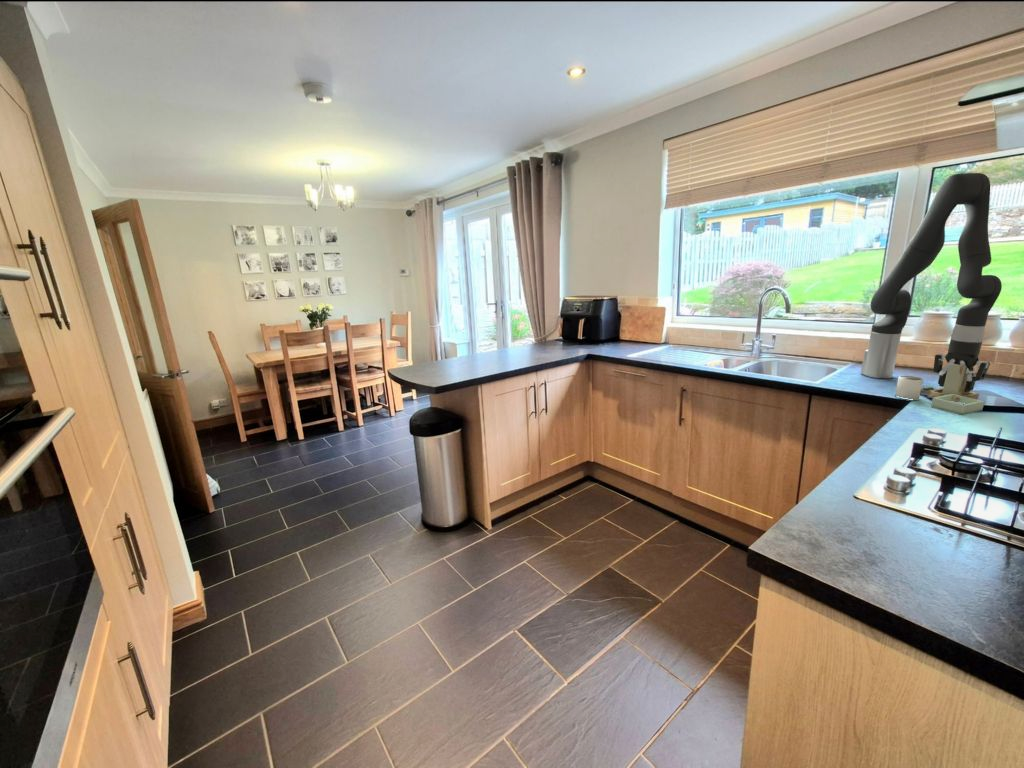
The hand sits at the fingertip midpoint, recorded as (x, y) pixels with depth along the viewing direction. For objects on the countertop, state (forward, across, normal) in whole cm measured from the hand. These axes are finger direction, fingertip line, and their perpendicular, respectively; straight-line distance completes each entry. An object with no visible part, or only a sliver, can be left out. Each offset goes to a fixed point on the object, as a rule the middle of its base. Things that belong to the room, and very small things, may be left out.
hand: (954, 388), depth 159 cm
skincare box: (+4, 0, 0) cm, 4 cm away
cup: (+4, +7, +11) cm, 14 cm away
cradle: (+4, +3, 0) cm, 5 cm away
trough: (+4, -6, +9) cm, 11 cm away
